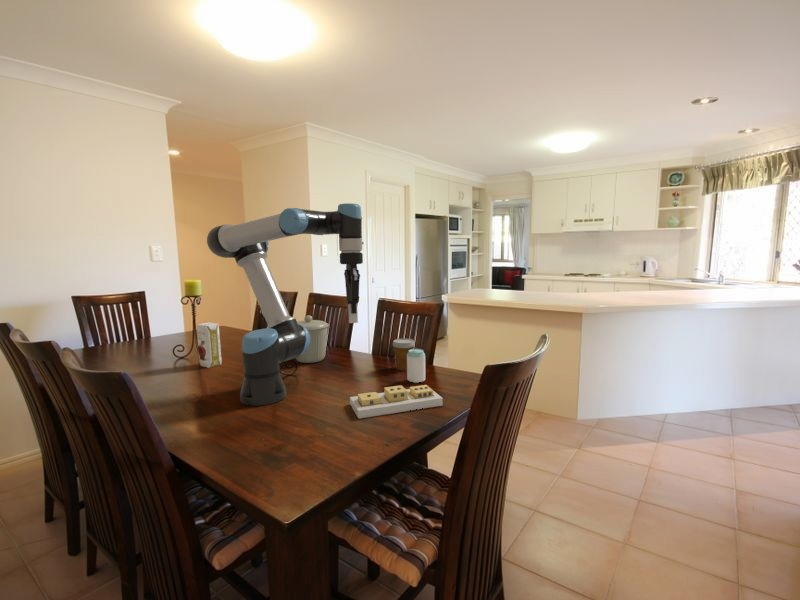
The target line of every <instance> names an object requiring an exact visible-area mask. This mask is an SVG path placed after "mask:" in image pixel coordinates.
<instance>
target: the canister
mask: <svg viewBox="0 0 800 600" xmlns="http://www.w3.org/2000/svg"><path fill="white" fill-rule="evenodd" d="M297 323H298V325H302V326H303V327H305V328H306V329H307V330H308V332H309V335H310V344H309V348H308V349H307V351H306V352H305V353H304V354H302V355H300V356H298V357H296V358H295V360H296V361H297V362H299V363H301V364H313V363H319V362H321V361H322V360H324V359H325V356H326V351H327V341H328V339H327V338H328V327H329V326H330V324H329V323H327V322H326V321H324V320H319V319H313V316H311V315H309V314H308V315H306V316H304V320H299V321H297Z"/></svg>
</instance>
